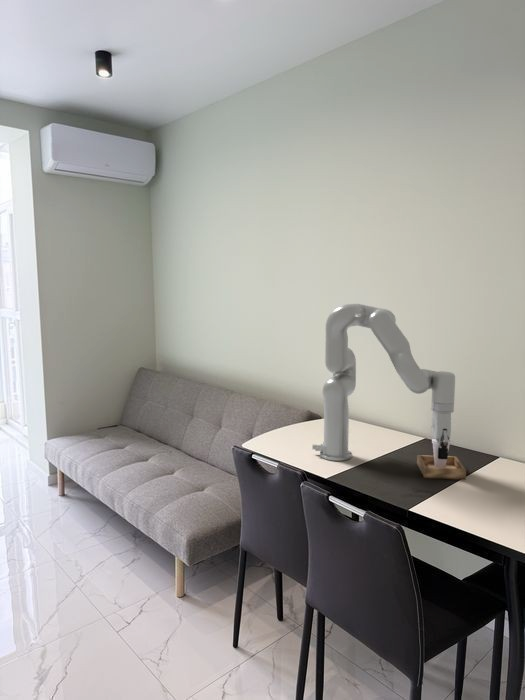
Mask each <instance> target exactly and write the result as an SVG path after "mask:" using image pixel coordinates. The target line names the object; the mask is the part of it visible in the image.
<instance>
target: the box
mask: <svg viewBox="0 0 525 700" xmlns="http://www.w3.org/2000/svg"><path fill="white" fill-rule="evenodd" d="M416 465H417V467H418V469H419V471H420V473H421V475H422V477H423V478H424V479H441V480H442V479H444V480H445V479H446V480H464V479H466V480H467V468H465V466H464V465H463V463H462V462H461V461H460V460H459V458H458V457H457V456H456V455H455V456H453V455H452V456H451V455H448V459H447V461H446V467H445V468H438V467H435V464H434V455H427V454H426V455H424V454H417V455H416Z"/></svg>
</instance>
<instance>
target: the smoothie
mask: <svg viewBox="0 0 525 700" xmlns="http://www.w3.org/2000/svg"><path fill="white" fill-rule="evenodd" d="M441 439H443V438H441ZM442 442H443V441H441V444H442ZM431 443H432V449H433V450H432V452H433V456H434V464H435V467H438V468H445V467H446V461H447V459H438V448H439V439H438V440H436V439H435V438H434V437H433V438H432V439H431ZM451 444H452V443H451V439H450V440H448V452H449V450H450V445H451Z"/></svg>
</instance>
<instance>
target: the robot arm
mask: <svg viewBox="0 0 525 700" xmlns="http://www.w3.org/2000/svg"><path fill="white" fill-rule="evenodd" d="M396 320H397V318H396V316H395V314H394V313H393V312H392V311H391V310H390V309H386V308H382V307H381V308H380V307H375V306H370V305H366V304H360V303H348V304H343V305H341V306H339V307H337V308H335V309H334V310H332V311H331V313H330V314H329V315H328V317H327V318H326V322H325V349H324V350H325V356H324V357H325V359H324V360H325V361H324V362H325V367H326V370H327V371H328V372H329V373H332V377H330V378H328V379H327V380H326V381H325V383H324V384H323V387H322V397H323V399H322V400H323V442H322V443H321V444H312V450H315V452H319V457H321V458H322V459H325V460H327V461H332V462H333V461H335V462H337V461H340V462H341V461H348V460H350V459H352V457H353V453H352V451H350V450H349V433H350V432H349V427H350V426H349V424H350V421H349V419H350V413H349V411H350V409H349V402H348V399H349V398H348V397H350V396H351V395H352V394H353V393H354V391H355V390H356V384H357V381H356V379H357V361H356V356H355V352H353V350H352V349H351V348H350V347H349V335H348V329H349V328H351V327H356V326H357V327H362V328H367V329H370V330H371V332H372V333H373V335H374V336H375V338H376V339H377V341H378V342H379V343H380V344H381V346H382V348H383V349H384V350H385V351H386V353H387V354H388V357H389V360H390V361H391V363H392V365H393V367H394V369H395V372H396V373H397V374H398V376H399V377H400V379H401V381H402V382H403V383H404V384H405V386H406V387H407V388H408V390H410V391H411V392H412V393H413V394H418V395H420V394H424V393H426V392H427V391H428V390H431V409H430V410H431V411H432V415H431V416H432V417H431V425H430V427H431V428H430V434H431V435H432V437H433V438H435V439H436V440H438V439H439V448H438V459H448V456H449V455H448V454H449V451H448V440H450V441H451V433H452V414H453V413H454V410H455V392H456V391H455V390H456V375H455V374H454V373H453V372H451V371H441V370H440V371H435V370H430V369H426V368H420V366H419V365H418V363H417V362H416V360H415V359H414V356H413V354H412V351H411V345H410V342H409V340H408V338H407V337H406V336H405V334H404V333H403V331H402V330H401V329H400V328H399V326H398V324H397V321H396ZM441 438H443V439H441ZM441 441H443V442H442V444H441Z"/></svg>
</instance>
